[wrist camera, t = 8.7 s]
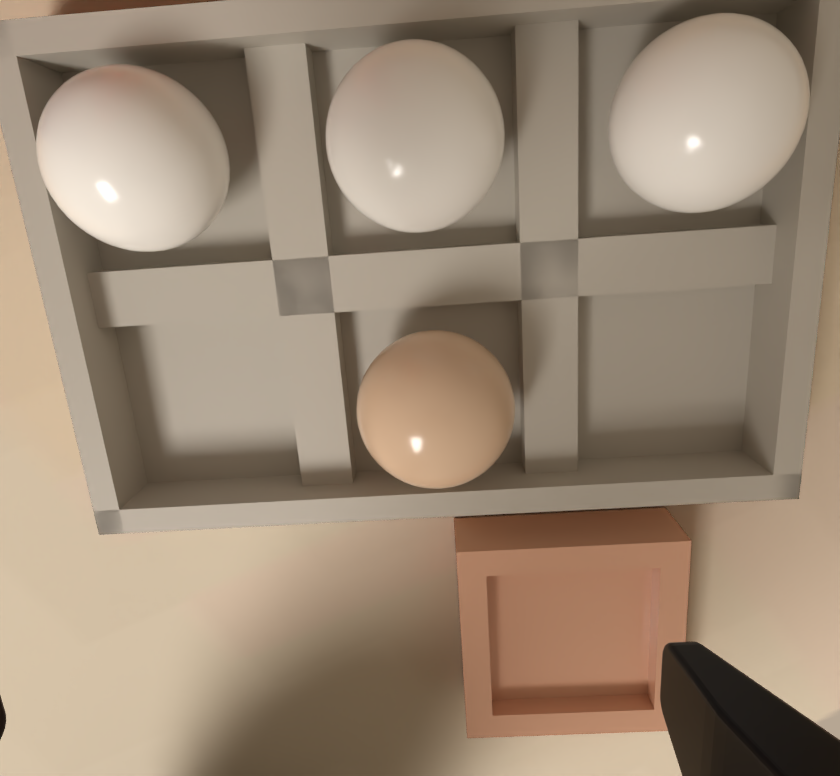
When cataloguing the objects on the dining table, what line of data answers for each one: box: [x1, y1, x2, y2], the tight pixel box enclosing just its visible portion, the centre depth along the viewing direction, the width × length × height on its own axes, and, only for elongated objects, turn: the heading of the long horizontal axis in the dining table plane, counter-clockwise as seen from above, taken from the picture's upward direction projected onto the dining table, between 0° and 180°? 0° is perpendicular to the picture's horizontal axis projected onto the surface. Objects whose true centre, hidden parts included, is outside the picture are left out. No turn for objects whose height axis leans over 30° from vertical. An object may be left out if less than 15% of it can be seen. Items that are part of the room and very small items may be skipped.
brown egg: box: [356, 330, 515, 489], centre depth 17 cm, size 4×4×4 cm
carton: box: [0, 0, 840, 535], centre depth 18 cm, size 14×21×2 cm, turn 94°
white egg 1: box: [36, 64, 230, 252], centre depth 15 cm, size 4×4×4 cm
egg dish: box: [454, 508, 691, 738], centre depth 21 cm, size 7×7×2 cm
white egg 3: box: [608, 13, 810, 213], centre depth 15 cm, size 4×4×4 cm
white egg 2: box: [325, 39, 505, 233], centre depth 15 cm, size 4×4×4 cm
